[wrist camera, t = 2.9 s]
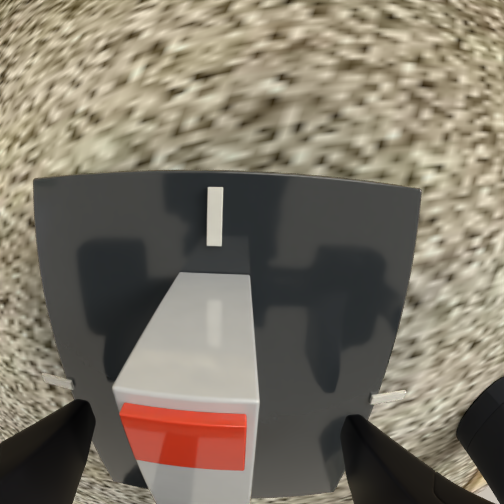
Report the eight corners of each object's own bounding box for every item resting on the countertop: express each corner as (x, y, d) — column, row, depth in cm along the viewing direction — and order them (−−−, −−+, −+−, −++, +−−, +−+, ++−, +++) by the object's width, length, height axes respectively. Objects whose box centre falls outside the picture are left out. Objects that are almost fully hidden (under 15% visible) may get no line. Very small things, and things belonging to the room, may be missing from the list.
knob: (241, 476, 10) (243, 571, 5) (198, 473, 10) (188, 567, 5) (250, 274, 7) (262, 415, 3) (178, 271, 7) (102, 399, 3)
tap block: (341, 449, 13) (355, 490, 10) (109, 438, 13) (93, 478, 10) (403, 186, 10) (454, 194, 7) (58, 177, 9) (5, 182, 6)
